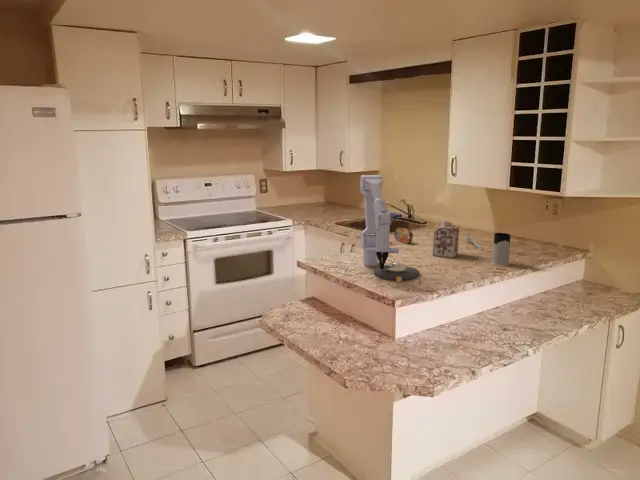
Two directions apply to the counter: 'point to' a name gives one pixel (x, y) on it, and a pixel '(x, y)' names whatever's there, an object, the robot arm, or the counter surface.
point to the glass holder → (501, 249)
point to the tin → (403, 235)
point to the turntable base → (408, 280)
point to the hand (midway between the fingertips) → (381, 268)
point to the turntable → (408, 275)
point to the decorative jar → (445, 240)
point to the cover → (396, 268)
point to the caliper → (471, 240)
